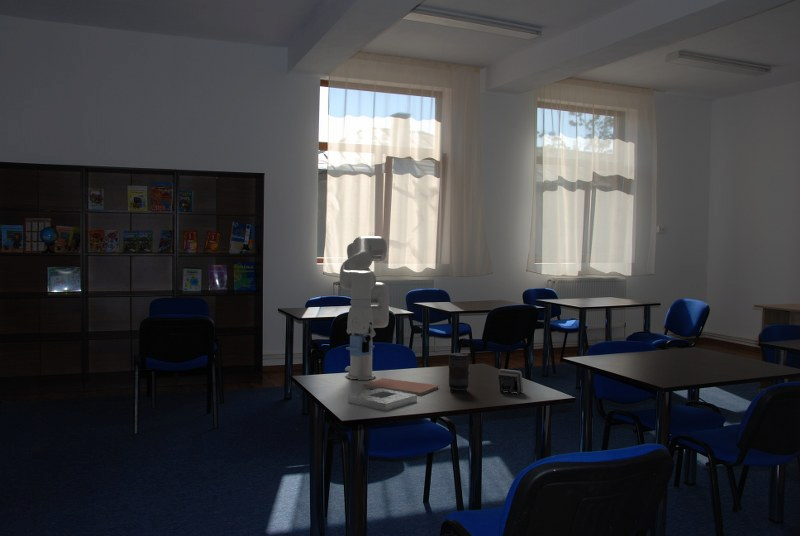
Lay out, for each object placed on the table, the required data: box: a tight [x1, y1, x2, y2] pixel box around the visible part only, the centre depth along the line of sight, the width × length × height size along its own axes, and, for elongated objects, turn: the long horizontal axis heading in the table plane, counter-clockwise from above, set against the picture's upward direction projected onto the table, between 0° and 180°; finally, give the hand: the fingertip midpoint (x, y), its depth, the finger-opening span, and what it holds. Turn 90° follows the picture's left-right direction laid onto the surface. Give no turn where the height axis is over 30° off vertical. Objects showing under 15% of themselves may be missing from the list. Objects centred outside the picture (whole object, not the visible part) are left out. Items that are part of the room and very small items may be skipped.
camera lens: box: [448, 352, 470, 394], centre depth 257 cm, size 8×8×15 cm
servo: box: [345, 334, 375, 357], centre depth 245 cm, size 11×4×8 cm, turn 140°
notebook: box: [362, 377, 440, 397], centre depth 261 cm, size 27×17×2 cm, turn 60°
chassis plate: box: [347, 388, 418, 412], centre depth 237 cm, size 18×18×2 cm
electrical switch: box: [498, 368, 524, 394], centre depth 256 cm, size 9×5×9 cm, turn 59°
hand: (360, 351), depth 245 cm, fingers closed on servo, 4 cm apart
